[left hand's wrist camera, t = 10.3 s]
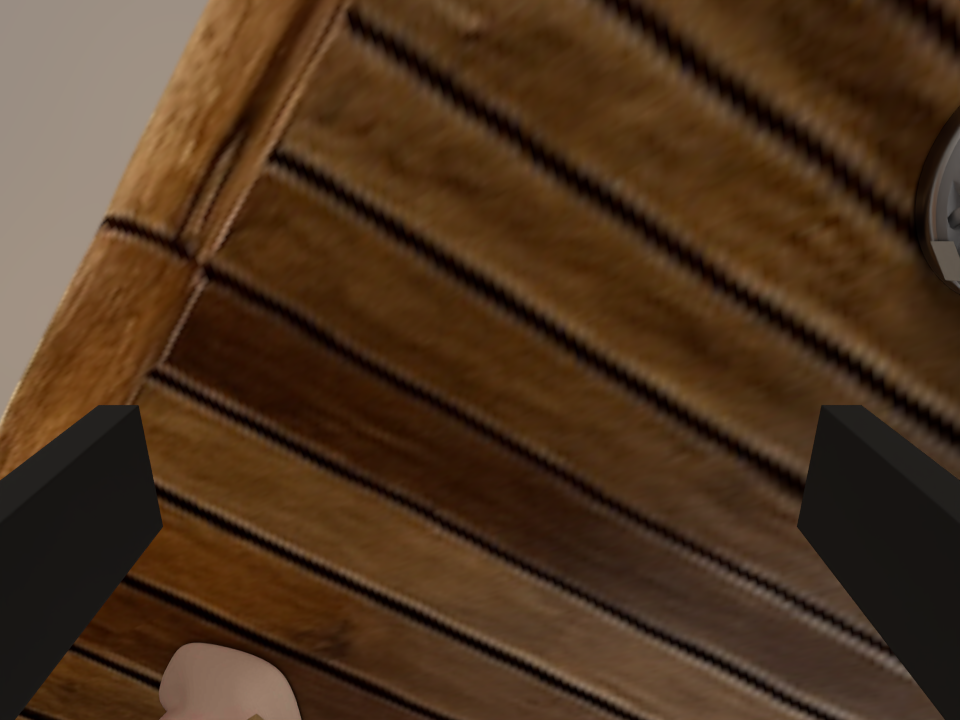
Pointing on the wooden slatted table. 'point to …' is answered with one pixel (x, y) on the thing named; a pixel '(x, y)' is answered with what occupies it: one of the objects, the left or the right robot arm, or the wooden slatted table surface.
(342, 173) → the wooden slatted table surface
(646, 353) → the wooden slatted table surface
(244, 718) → the anatomical model
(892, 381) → the wooden slatted table surface
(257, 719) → the bar
